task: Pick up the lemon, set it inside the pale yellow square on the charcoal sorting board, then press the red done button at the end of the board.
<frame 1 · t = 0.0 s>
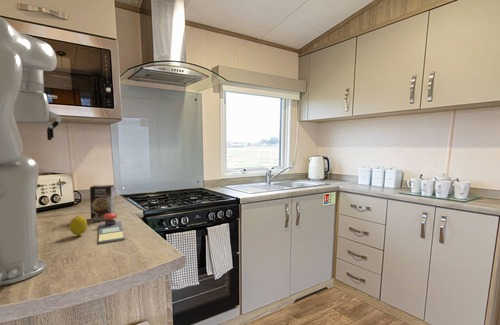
hand: (31, 139, 86), 37 cm above the counter, tool pointing down, fingers open, 9 cm apart
board: (110, 231, 101), on the counter
coffee box: (103, 219, 122), on the counter
done button: (110, 216, 109), point 4 cm above the counter, slide at 0.0 cm
lemon: (79, 236, 97), on the counter
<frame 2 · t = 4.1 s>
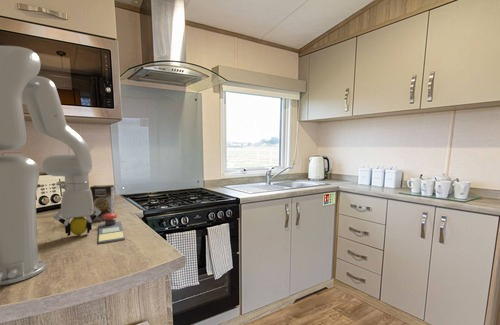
hand: (78, 233, 97), 1 cm above the counter, tool pointing down, fingers closed on lemon, 5 cm apart
lemon: (79, 236, 97), on the counter, touching gripper
everything else where it was.
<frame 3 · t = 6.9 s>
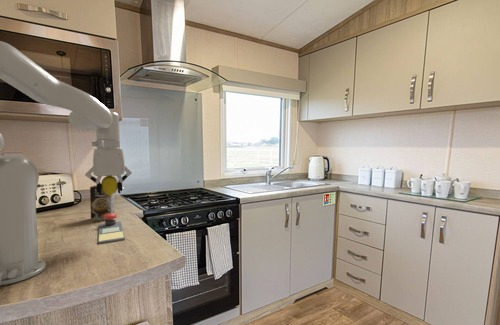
hand: (109, 193, 94), 17 cm above the counter, tool pointing down, fingers closed on lemon, 5 cm apart
lemon: (110, 196, 94), point 16 cm above the counter, touching gripper
everything else where it was.
when the fingers open (3 cm above the counter, at t = 9.9 s): lemon drops 1 cm, resting on board.
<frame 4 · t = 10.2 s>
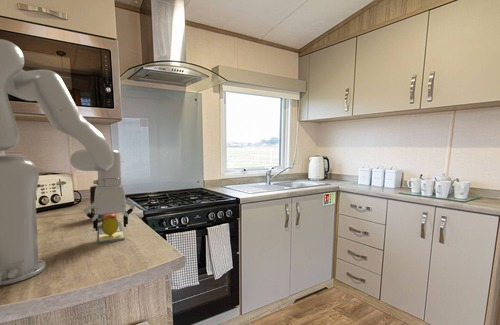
hand: (111, 228, 94), 4 cm above the counter, tool pointing down, fingers open, 9 cm apart
lemon: (110, 236, 94), point 1 cm above the counter, touching board
everything else where it was.
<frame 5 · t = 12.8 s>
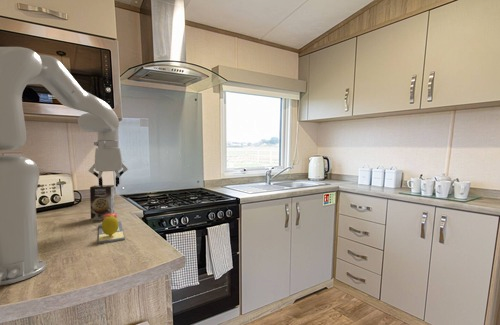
hand: (109, 186, 109), 17 cm above the counter, tool pointing down, fingers open, 5 cm apart
nothing on the counter moved.
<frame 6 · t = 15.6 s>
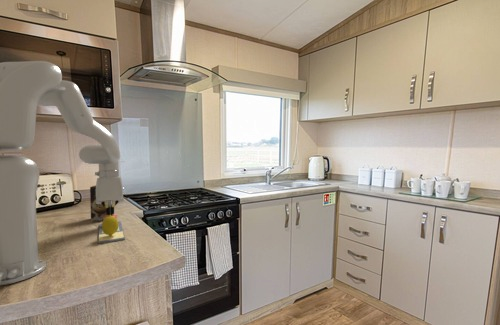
hand: (110, 215, 110), 4 cm above the counter, tool pointing down, fingers closed
done button: (110, 217, 109), point 4 cm above the counter, slide at 0.7 cm, touching gripper
everything else where it was.
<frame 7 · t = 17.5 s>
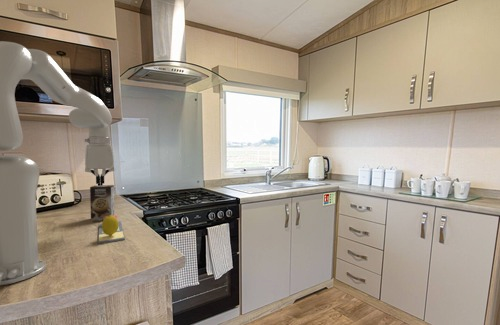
hand: (100, 185, 105), 18 cm above the counter, tool pointing down, fingers closed
done button: (110, 218, 109), point 3 cm above the counter, slide at 0.9 cm
everything else where it was.
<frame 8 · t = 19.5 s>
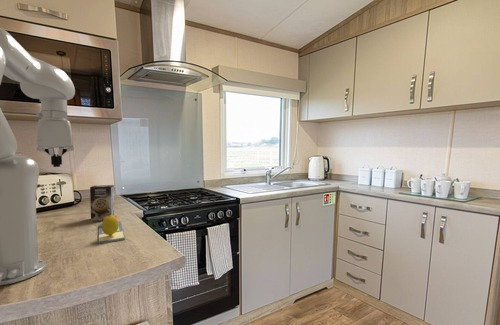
hand: (56, 166, 93), 27 cm above the counter, tool pointing down, fingers closed
nothing on the counter moved.
at the end: lemon inside the target area on the board (0.3 cm from its centre), point 0.5 cm above the board's base; the gripper is holding nothing; done button slide at 0.9 cm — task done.
